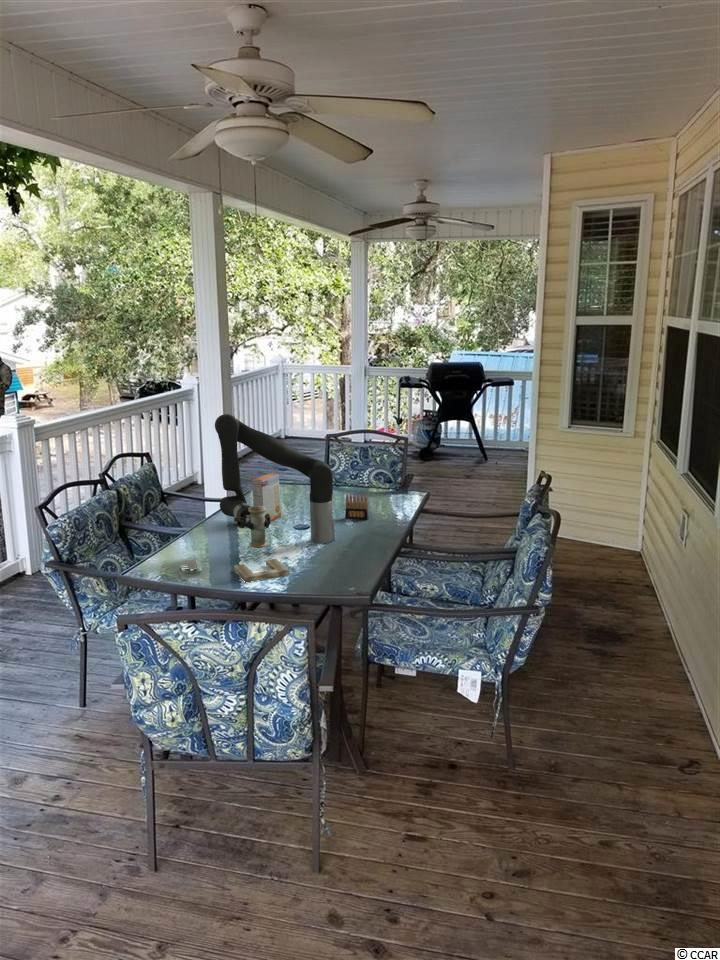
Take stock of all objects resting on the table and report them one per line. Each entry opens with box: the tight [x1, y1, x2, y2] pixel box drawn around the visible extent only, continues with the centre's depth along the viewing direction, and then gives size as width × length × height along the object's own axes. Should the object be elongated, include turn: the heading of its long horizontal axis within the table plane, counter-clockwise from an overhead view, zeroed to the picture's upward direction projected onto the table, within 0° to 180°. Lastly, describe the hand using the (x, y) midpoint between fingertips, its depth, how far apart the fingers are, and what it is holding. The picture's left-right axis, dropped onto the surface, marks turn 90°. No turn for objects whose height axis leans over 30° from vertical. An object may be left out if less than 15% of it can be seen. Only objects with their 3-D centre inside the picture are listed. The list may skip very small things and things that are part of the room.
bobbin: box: [248, 505, 268, 549], centre depth 254 cm, size 6×6×14 cm
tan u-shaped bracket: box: [233, 558, 290, 584], centre depth 257 cm, size 16×14×2 cm
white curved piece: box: [179, 559, 199, 570], centre depth 261 cm, size 9×8×4 cm
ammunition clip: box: [344, 493, 369, 521], centre depth 323 cm, size 11×2×12 cm, turn 76°
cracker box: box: [251, 472, 282, 523], centre depth 322 cm, size 14×6×21 cm, turn 152°
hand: (260, 526), depth 252 cm, fingers closed on bobbin, 5 cm apart
